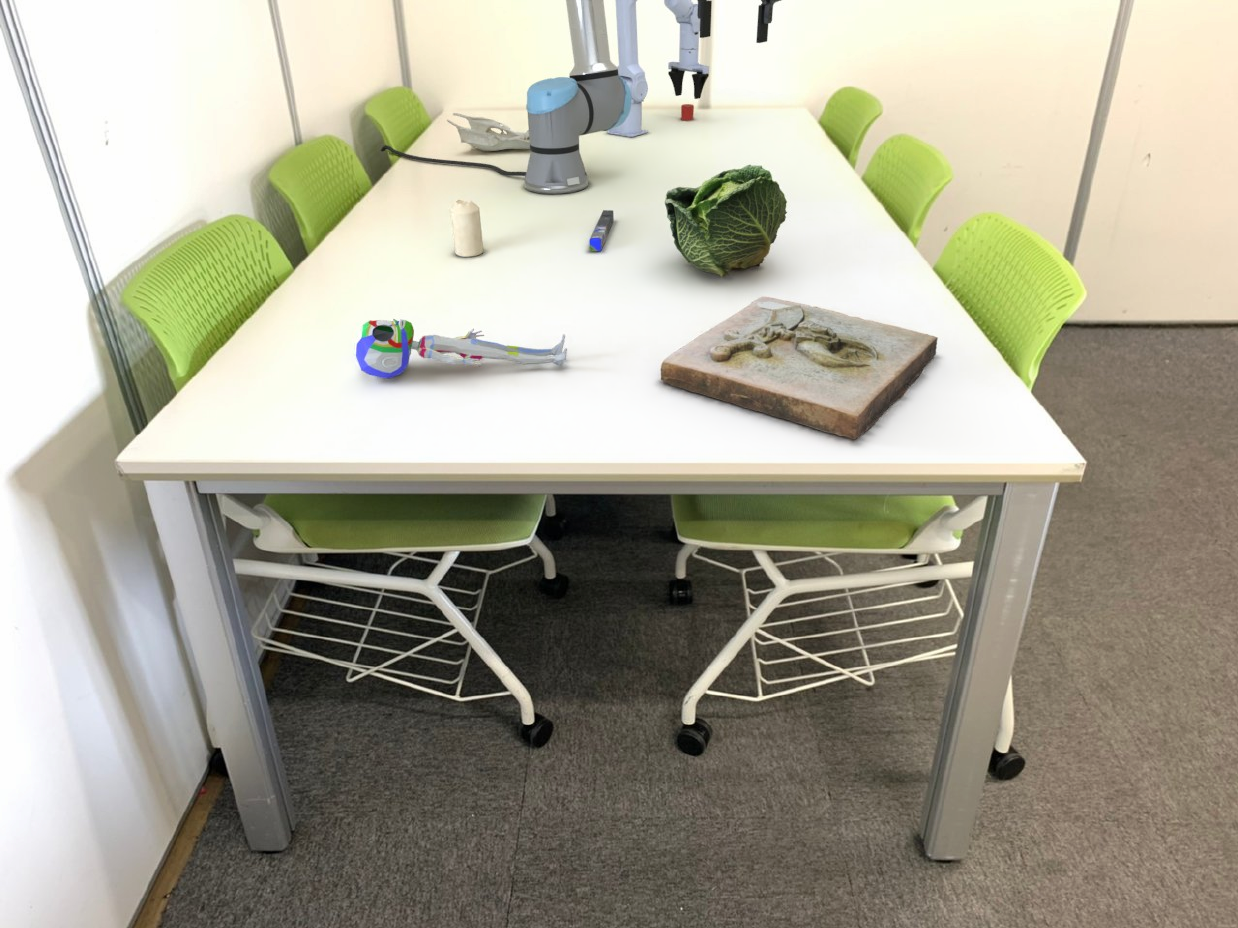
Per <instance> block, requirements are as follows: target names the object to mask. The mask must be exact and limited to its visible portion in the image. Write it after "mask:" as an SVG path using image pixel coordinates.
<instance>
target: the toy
mask: <svg viewBox="0 0 1238 928" xmlns="http://www.w3.org/2000/svg"><path fill="white" fill-rule="evenodd" d="M474 331H475V328H472V329H471V330H469V331H468V332H467V333H466V334H465V335H463V336H458V337H449V336H448V337H447V336H442V335H439V334H428V335H423V336H421V338H420V339H419V341H417V340H414V336H415V329H414V326H413V324H412V322H410V321H408V320H407V319H399V320H397V319H395V318H392V320H387V319H379V320H368V321H367V322H365V323H364V324H362V326H361V329H360V331H359V333H358V334H357V338H356V340H355V342H354V354H353V355H354V357H355V359H356V362H357V364H358V366H359V369H360V370H361V372H364V373H366V374H367V375H370V376H373V377H377V378H382V379H383V378H384V379H392V378H394V377H396V376H398V375H400V374H401V375H402V374H403V372H404V371H405V370H406V368H407V367H408V366H409V364H410V357H411V355H412V350H415V351H417V353H418V356H419V357H421V358H422V359H430V360H434V361H438V362H442V363H444V364H449V365H458V364H459V365H461V364H465V365H471V366H477V367H479V368H480V367H481V366H482V365H483V363H482V362H478V361H480V360H482V359H487V360H488V359H489V360H503V361H509V362H514V363H517V364H520V365H528V366H529V365H542V364H550V363H553V364H555V365H557V366H559V367H562V366H563V364H564V362H565V361H566V360H567V357H568V355H567V353H568V348H566V347H565V348H564V345H565V340H566V334H565V333H563V334H562V338H561V340H560V341H559V343H558V344H556V345H555V346H554V347H552V348H533V347H532V348H531V347H523V346H518V345H517V346H516V345H504V344H501V343H498V342H494V341H488V340H482V339H478V338H479V337H480V338H481V337H485V334H480V333H482V332H483V331H482V330H479V331H476V332H474ZM563 349H564V350H563ZM453 353H455V354H457V355H459V357H458V356H455V355H448V354H453ZM445 354H447V355H445Z"/></svg>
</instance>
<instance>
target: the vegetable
mask: <svg viewBox="0 0 1238 928" xmlns="http://www.w3.org/2000/svg"><path fill="white" fill-rule="evenodd" d="M665 196H666V197H665V199H664V205H665V208H666V209H665V210H666V218H667V219H668V221H669V222H670V224H669V228H670V231H671V236H672V238H673V239H674V240H673V243H674V245H675V247H676V249H677V250H678V252H680V255H681V256H682V257H683V258H684V259H685V261H686V262H687V263H688V264H689V263H691V264H692V265H693V266H694V267H695V268H696V269H699V270H700V271H702V272H704V273H708V274H714V275H715V274H716V275H718V276H719V277H721V278H723V277H724V276H730V274H729V273H728V272H729V271H732V270H734V269H740V268H742V269H747V268H748V267H754V268H756V267H757V268H760V266H761V264H763V263H764V261H765V258H766V257H767V256H768V255H769V253H770V250H771V245H772V244H774V243H775V241H776V239H777V236H778V235H777V234H778V231H779V229H780V227H781V225H782V224H783V223H784V222H786V218H787V216H786V214H787V213H788V211H787V203H788V201H787V199H786V196H785V194H784V192H783V191H782V189H781V188H780V184H779V183H778V181H777V180H774V179H773V176H772V173H771V171H770V170H768V169H765V168H763V165H755V164H754V165H751V164H748V165H745V166H743V167H742V168H732V169H729V170H723V171H721V172H720V173H718V174H716V175H714V176H713V177H711V178H709V179H707V180H704V181H703V182H702V184H701V185H700V186H698V187H684V186H677V187H674V188H672V189H670V190H668V191H667V192H666V194H665Z"/></svg>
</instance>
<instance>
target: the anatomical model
mask: <svg viewBox="0 0 1238 928" xmlns="http://www.w3.org/2000/svg"><path fill="white" fill-rule="evenodd" d="M452 116H455V117H460V118H463V119H465V120H467V121H468V124H469V126H470V128H469V127H464V126H462V125H458V124H456V123H454V122H453V121H451V120H449V119H446V122H447V123H449V124H451V125H452V126H454V127H456V129H457V132H458V135H459V138H460V143H463V144H464V143H465V144H468V145H470V146H471V147H472V148H474V149H478V150H479V151H482V152H498V151H502V150H507V149H508V150H510V149H519V150H520V149H522V150H530V142H529V129H528V130H526V132H519V131H513V130H512V129H511V127H509V126H508V125H506V124H504V123H502V122H500V121H498V120H495V119H492V118H488V117H484V116H483V117H482V116H470V115H466V114H463V113H458V112H453V113H452ZM493 129H497V130H499V131H501V132H496V131H494V130H493Z"/></svg>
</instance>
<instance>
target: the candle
mask: <svg viewBox="0 0 1238 928" xmlns="http://www.w3.org/2000/svg"><path fill="white" fill-rule="evenodd" d="M449 212H450V213H449V214H450V222H451V228H452V231H451V232H452V239H453V247H454V253H455V255H457V256H459V257H465V258H466V257H467V258H468V257H475V256H479V255H481V254H483V252H484V242H483V234H482V233H483V232H482V231H483V230H482V222H481V221H482V220H481V212H480V207H479V205H478V204H476V203H475V202H474V201H472V200H470V201H468V200H465V199H464V200H462V199H457V200H456V201H455V202H454V203H453V205H452V206H451V207H450V209H449Z"/></svg>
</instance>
